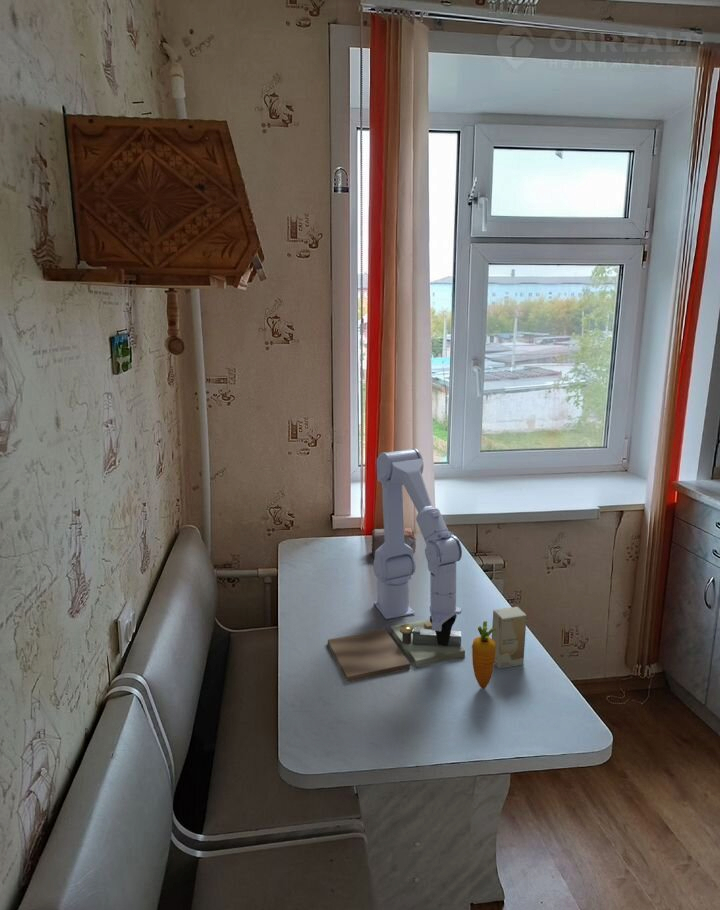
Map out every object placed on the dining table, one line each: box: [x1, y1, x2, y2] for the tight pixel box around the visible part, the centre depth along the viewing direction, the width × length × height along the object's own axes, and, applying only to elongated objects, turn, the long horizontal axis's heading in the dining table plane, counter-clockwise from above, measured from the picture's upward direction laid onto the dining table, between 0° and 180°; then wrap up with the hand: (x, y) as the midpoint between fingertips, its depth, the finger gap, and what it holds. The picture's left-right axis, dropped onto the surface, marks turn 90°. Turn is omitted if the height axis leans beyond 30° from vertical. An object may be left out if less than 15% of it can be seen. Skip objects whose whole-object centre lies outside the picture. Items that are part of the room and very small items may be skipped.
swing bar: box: [400, 623, 462, 647], centre depth 145 cm, size 14×3×3 cm, turn 82°
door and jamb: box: [327, 618, 466, 682], centre depth 145 cm, size 16×28×4 cm, turn 108°
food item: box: [371, 527, 417, 559], centre depth 199 cm, size 14×8×10 cm, turn 96°
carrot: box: [471, 620, 496, 690], centre depth 129 cm, size 5×5×15 cm
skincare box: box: [491, 606, 527, 669], centre depth 139 cm, size 6×4×12 cm
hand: (443, 644), depth 143 cm, fingers closed
